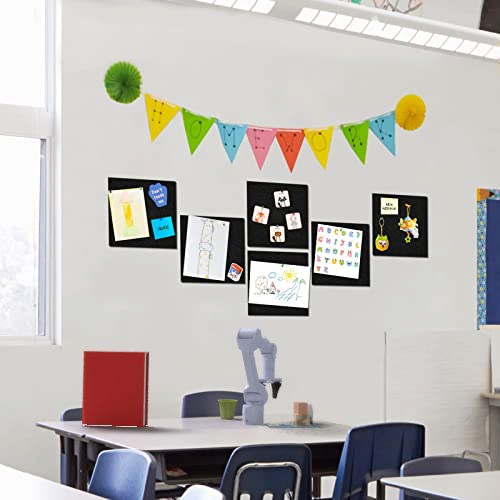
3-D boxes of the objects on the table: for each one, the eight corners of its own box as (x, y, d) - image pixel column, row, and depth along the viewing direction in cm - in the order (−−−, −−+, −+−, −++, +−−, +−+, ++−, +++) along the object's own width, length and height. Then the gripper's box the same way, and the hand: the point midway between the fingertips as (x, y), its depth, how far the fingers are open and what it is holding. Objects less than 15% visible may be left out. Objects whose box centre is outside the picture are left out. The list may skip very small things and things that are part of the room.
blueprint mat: (270, 429, 432) (270, 427, 432) (263, 425, 448) (263, 423, 448) (324, 428, 436) (324, 427, 436) (316, 425, 452) (316, 423, 452)
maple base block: (296, 426, 441) (296, 414, 441) (293, 424, 447) (293, 413, 447) (309, 426, 442) (309, 414, 442) (307, 424, 447) (307, 413, 448)
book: (147, 426, 437) (149, 351, 440) (143, 427, 429) (144, 352, 432) (86, 424, 441) (88, 350, 443) (80, 426, 433) (82, 351, 435)
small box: (313, 412, 459) (311, 404, 450) (312, 424, 457) (311, 416, 447) (295, 411, 460) (294, 403, 451) (295, 423, 458) (293, 415, 449)
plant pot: (240, 418, 478) (241, 400, 478) (231, 420, 469) (232, 401, 470) (223, 417, 482) (223, 399, 482) (214, 419, 473) (214, 400, 474)
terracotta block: (298, 414, 442) (298, 403, 443) (293, 413, 446) (293, 402, 447) (307, 414, 444) (307, 402, 445) (302, 413, 448) (302, 402, 449)
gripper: (261, 369, 458) (261, 400, 457) (286, 369, 467) (285, 398, 466) (252, 369, 464) (251, 398, 463) (276, 368, 473) (276, 397, 472)
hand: (268, 398), depth 465 cm, fingers open, 7 cm apart
